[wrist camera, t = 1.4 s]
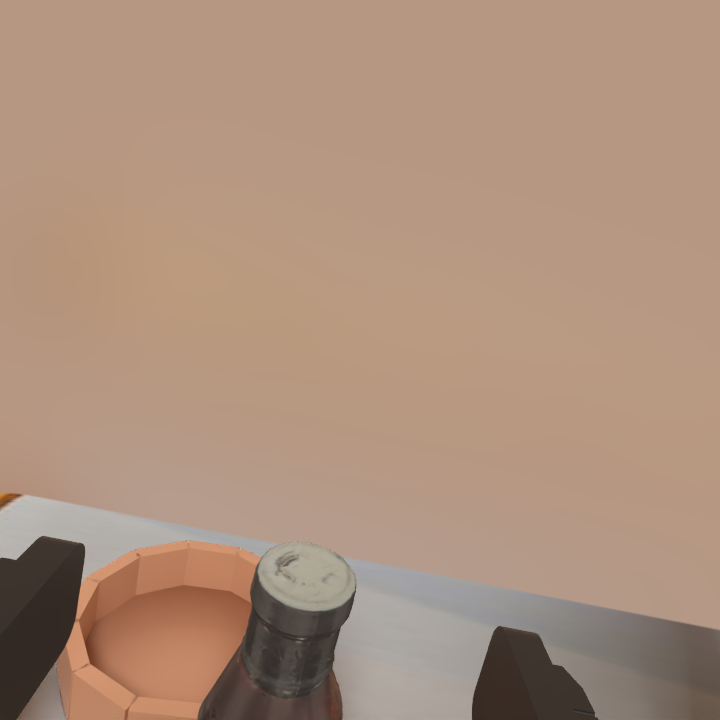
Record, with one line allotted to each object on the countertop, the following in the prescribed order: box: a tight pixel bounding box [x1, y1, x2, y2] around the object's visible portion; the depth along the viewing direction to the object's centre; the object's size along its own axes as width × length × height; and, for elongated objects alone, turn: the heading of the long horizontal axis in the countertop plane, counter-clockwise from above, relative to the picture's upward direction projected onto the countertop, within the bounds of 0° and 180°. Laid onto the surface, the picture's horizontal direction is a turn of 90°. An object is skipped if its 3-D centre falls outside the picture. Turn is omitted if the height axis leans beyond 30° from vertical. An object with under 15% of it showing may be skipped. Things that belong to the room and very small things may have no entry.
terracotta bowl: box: [57, 540, 261, 720], centre depth 41 cm, size 16×16×4 cm
